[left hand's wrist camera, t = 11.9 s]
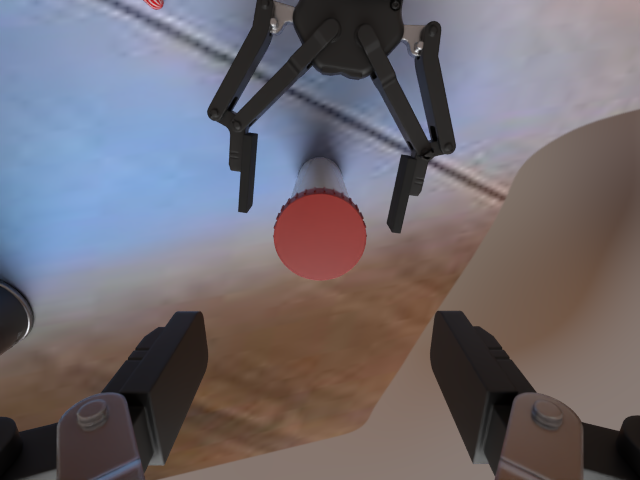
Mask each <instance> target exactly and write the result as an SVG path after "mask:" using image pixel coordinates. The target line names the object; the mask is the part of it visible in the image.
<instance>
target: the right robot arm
mask: <svg viewBox="0 0 640 480" xmlns="http://www.w3.org/2000/svg"><path fill="white" fill-rule="evenodd" d="M402 3H403V0H299V2H298V4H297V5H296V7H293V6H289V5H286V4H283V3H279V2H276V1H273V0H257V3H256V9H255V15H254V21H253V27H252V28H251V30H250V32H249V34H248V36H247V38H246V39H245V41H244V43H243V45H242V47H241V49H240V51H239V52H238V54H237V56H236V58H235V60H234V62H233V63H232V65H231V67H230V69H229V71H228V73H227V74H226V76H225V78H224V80H223V82H222V84H221V86H220V87H219V89H218V91H217V93H216V95H215V97H214V98H213V100H212V102H211V104H210V106H209V108H208V110H207V114H208V116H209V118H210V119H211V120H213V121H217V122H219V123H221V124H223V125H224V126H226V127H227V128H228V129H229V131H230V151H229V152H230V153H229V166H230V169H231V170H232V171H239V172H241V175H240V191H239V207H238V212H243V213H247V212H248V211H249V209H250V208H251V206H252V204H253V191H254V178H255V165H256V152H257V138H258V134H256V133H248V131H249V128H250V127H251V126H252V125H253V124H254V123H255V122H256V121H257V120H258V119H259V118H260V117H261V116H262V115H263V114H264V113H265V112H266V111H267V110H268V109H269V108H270V107H271V106H272V105H273V104H274V103H275V102H276V101H277V100H278V99H279V98H280V97H281V96H282V95H283V94H284V93H285V92H286V91H287V90H288V89H289V88H290V87H291V86H292V85H293V84H294V83H295V82H296V81H297V80H298V79H299V78H300V77H301V76H302V75H304V74H305V73H306V72H307V71H308V70H309V69H310V68H311V67H312V66H313V67H314V68H315V69H316V70H317V71H318V72H320V73H322V74H323V75H329V76H332V75H339V74H341V75H343V76H345V77H347V78H349V79H356V80H359V79H362V78H365V77H367V76H369V75H370V77H371V79H372V81H373V83H374V85H375V86H376V88H377V89H378V90H379V92H380V94H381V96H382V98H383V100H384V102H385V103H386V105H387V107H388V109H389V111H390V113H391V115H392V117H393V118H394V120H395V122H396V124H397V126H398V128H399V130H400V132H401V134H402V135H403V137H404V139H405V141H406V143H407V145H408V147H409V149H410V150H411V152H412V153H411V156H408V155H402V154H401V158H400V163H399V168H398V172H397V177H396V182H395V187H394V191H393V196H392V201H391V205H390V210H389V215H388V219H387V225H388V226H389V228H390V230H391V231H392V232H393V233H401V228H402V224H403V220H404V215H405V211H406V207H407V202H408V198H409V195H413V196H418V195H419V194H420V192H421V190H422V186H423V182H424V178H425V174H426V169H427V165H428V162H429V160H431V159H432V158H433V157H435V156H438V155H443V154H451V153H453V152H454V151H455V148H456V143H455V138H454V133H453V128H452V123H451V118H450V113H449V108H448V103H447V98H446V93H445V88H444V83H443V78H442V73H441V68H440V63H439V58H438V52H439V44H440V36H441V26H440V24H439V23H438V22H436V21H432V22H430V23H428V24H427V25H404V24H403V21H402V14H401V10H402ZM288 24H293V25H294V28H295V30H296V33H297V35H298V37H299V39H300V41H301V43H302V46H301V47H300V48H299V49H298V50H297V51H296V52H295V53H294V54H293V55H292V56H291V57H290V59H289V60H288V61H287V63H286V64H285V65H284V66H283V67H282V68H281V69H280V70H279V71H278V72H277V73H276V74H275V75H274V76H273V77H272V78H271V79H270V80H269V81H268V82H267V83H266V84H265V85H264V86H263V87H262V88H261V89H260V90H259V91H258V92H257V93H256V94H255V95H254V96H253V97H252V98H251V99H250V101H249V102H248V103H247V104H246V105H245V106H244V107H243V108H242V109H241V110H240V111H239V112H238V113H236V112H234V111H232V110H233V109H234V107H235V105H236V103H237V101H238V100H239V98H240V96H241V94H242V93H243V91H244V89H245V87H246V86H247V84H248V82H249V80H250V78H251V77H252V75H253V73H254V71H255V70H256V68H257V66H258V64H259V63H260V61H261V59H262V57H263V55H264V54H265V52H266V50H267V48H268V46H269V44H270V42H271V39H272V36H273V35H279V34H281V33H282V31H283V29H284V27H285V26H286V25H288ZM400 42H403V43H405V44H406V46H407V50H408V54H409V55H410V56H411V57H415V69H416V74H417V78H418V83H419V87H420V92H421V97H422V101H423V106H424V110H425V115H426V119H427V124H428V128H429V133H430V137H431V140H428V139H427V137H426V135H425V134H424V132H423V130H422V128H421V126H420V124H419V122H418V120H417V118H416V116H415V114H414V112H413V110H412V108H411V106H410V104H409V102H408V100H407V98H406V96H405V94H404V92H403V90H402V88H401V87H400V85H399V83H398V81H397V78H396V74H395V72H394V70H393V68H392V66H391V64H390V62H389V60H388V58H387V56H388V55H389V54H390V53H391V52H392V51H393V50H394V49H395V47H396V46H397V45H398V44H399V43H400Z"/></svg>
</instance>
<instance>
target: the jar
mask: <svg viewBox="0 0 640 480" xmlns="http://www.w3.org/2000/svg"><path fill="white" fill-rule="evenodd" d="M314 187H316V188H324V187H325V188H327V189H332V190H333V189H335V191H338V192H340V193H342V192H343V193H344V195H345V196H347V197H348V198H349V195H348V192H347V189H346V186H345V184H344V181H343V178H342V175H341V172H340V169H339V167H338V166H337V165H336V164H335V163H334V162H333V161H332V160H330V159H327V158H324V157H316V158H313V159H310V160H308V161H307V162H306V163H305V164H304V165H303V166H302V168H301V169H300V172H299V175H298V178H297V181H296V184H295V187H294V190H293V193H292V196H291V198H292V197H294V196H295V194H296V193H300V192H302V191H304V189H306V190H308V189H313V188H314ZM291 198H290V199H291Z"/></svg>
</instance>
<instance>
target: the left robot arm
mask: <svg viewBox="0 0 640 480" xmlns="http://www.w3.org/2000/svg"><path fill="white" fill-rule="evenodd" d="M32 326H33V314H32V311H31V308H30V306H29V304H28V302H27V301H26V299H25V298H24V297H23V296H22V295H21V294H20V293H19V292H18V291H17V290H16V289H15V288H13V287H12V286H10V285H9V284H7V283H5V282H3V281H1V280H0V355H1V354H3V353H4V352H5V351H7V350H8V349H10V348H11V347H13V346H14V345H15V344H16V343H18V342H20V341H21V340H22V339H24V338H25V337H26V336H27V335H28V334H29V333H30V331H31V329H32ZM430 360H431V366H432V370H433V372H434V375H435V377H436V379H437V382H438V384H439V386H440V389H441V391H442V393H443V396H444V398H445V400H446V402H447V405H448V407H449V409H450V412H451V414H452V416H453V419H454V421H455V423H456V425H457V428H458V430H459V432H460V435H461V437H462V439H463V442H464V444H465V446H466V449H467V451H468V453H469V456H470V458H471V460H472V462H473V464H489V465H490V467H491V469H492V471H493V473H494V475H495V480H640V416H630V417H628V418H626V419H625V420H624V421H623V424H622V426H621V429H620V431H616V430H612V429H608V428H604V427H600V426H595V425H591V424H587V423H583V422H581V420H580V419H579V417H578V416H577V415H576V413H575V412H574V411H573V410H571V409H570V408H569V407H568V406H566V405H565V404H563V403H562V402H560V401H558V400H557V399H554V398H552V397H550V396H547V395H544V394H540V393H537V392H536V391H535V390H534V388H533V387H532V386H531V385H530V383H529V382H528V381H527V379H526V378H525V377H524V375H523V374H522V373H521V372H520V370H519V369H518V368H517V366H516V365H515V364H514V362H513V361H512V360H510V359H509V356H508V355H507V353H506V352H505V351H504V350H502V347H501V345H500V344H499V343H498V342H497V340H496V339H495V338H494V336H492V335H491V334H489V333H488V332H487V331H485V330H484V329H482V328H481V327H479V326H472V325H471V323H470V322H469V320H468V319H467V317H466V316H465V315H464V313H463V312H462V311H437V312H436V314H435V318H434V326H433V334H432V342H431V349H430ZM207 362H208V348H207V340H206V333H205V325H204V318H203V314H202V312H200V311H178V312H176V313H175V314H174V315H173V317H172V318H171V319H170V321H169V322H168V324H167V325H166V326H165V327H158V328H157V329H155V330H154V331H152V332H151V333H149V334H148V335H146V336H145V337H144V338H143V339H142V341H141V342H140V343H139V344H138V346H137V347H136V349H135V351H133V352H132V354H131V355H130V356H129V357H128V360H126V361H125V363H124V364H123V365H122V366H121V368H120V369H119V370H118V372H117V373H116V374H115V375H114V377H113V378H112V379H111V381H110V382H109V383H108V384H107V386H106V387H105V388H104V390H103V391H102V392H101V393H100V394H96V395H93V396H90V397H88V398H85V399H83V400H82V401H80V402H78V403H76V404H75V405H74V406H72V407H71V408H70V409H69V410H67V411H66V412H65V413H64V415H63V416H62V417H61V419H60V420H59V422H58V423H54V424H51V425H47V426H43V427H38V428H34V429H30V430H26V431H22V432H19V431H18V429H17V426H16V424H15V422H14V421H13V420H12V419H10V418H7V417H0V480H145V476H144V473H145V471H146V469H147V467H148V465H165V462H166V460H167V458H168V456H169V453H170V451H171V449H172V446H173V444H174V442H175V440H176V437H177V435H178V433H179V430H180V428H181V426H182V424H183V421H184V419H185V417H186V415H187V412H188V410H189V408H190V405H191V403H192V401H193V399H194V396H195V394H196V392H197V389H198V387H199V385H200V383H201V380H202V378H203V376H204V374H205V371H206V368H207Z"/></svg>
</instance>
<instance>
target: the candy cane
mask: <svg viewBox="0 0 640 480" xmlns="http://www.w3.org/2000/svg"><path fill="white" fill-rule="evenodd" d="M144 1H145V2H146V3H147V4H148V5H149V6H150V7H152V8H153V9H161V8H162V7H163V4H164V1H163V0H144Z"/></svg>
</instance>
